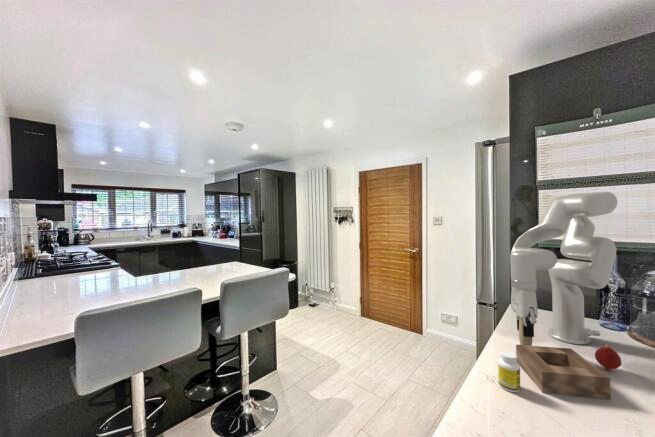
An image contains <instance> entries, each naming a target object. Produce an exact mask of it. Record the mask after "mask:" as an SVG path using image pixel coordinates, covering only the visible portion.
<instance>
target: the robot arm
mask: <svg viewBox="0 0 655 437" xmlns="http://www.w3.org/2000/svg"><path fill="white" fill-rule="evenodd" d="M617 206H618V199H617V197H616V195H615V194H614V193H612V192H610V191H596V192H595V191H594V192H584V193H583V192H580V193H571V194H566V195H562V196H556V197H555V198H553V199H552V200H551V202H549V204H548V206H547V207H546V208H547V209H546V210H545V211H544V212H545V213H544V214H543V216H542V217H541V220H540V221H539V223H538V224H537V225H535V226H534V227H532V228H530V229H528V230H527V231H525V232H524V233H522V234H521V235H520V236H519V237H518V238H517V239H516V240H515V242H514V244H513V246H512V249H511V251H510V255H509V260H510V261H509V262H510V285H511V287H510V288H511V291H510V309H511V310H512V311H513V312H514V308H515V309H516V312H514V313H515V314H516V317H515V318H516V329H517V331H518V332H519V316H520V317H521V318H523V320H524V325H523V336H525V337H532V338H534V337H535V324H537V318H538V314H539V312H538V311H539V310H538V302H537V300H538V299H537V294H536V293H537V292H536V291H538V290H537V289H538V288H537V271H539V270H542V271H547V270H548V275H549V278H550V283H551V295H552V299H551V301H552V304H551V305H552V306H551V307H552V328H549V329H548V330H547V332H548V335H549V336H550V337H551V338H554V339H555V340H558V341H561V342H564V343H568V344H573V345H588V344H591V338H590V336H595V337H597V336H598V337H599V336H601V333H600V331H599V330H593V329H592V330H591V328H586V327H585V297H584V293H583V291H582V290H581V288H580V287H585V288H590V289H597V290H598V289H599V290H600V289H603V288H606V286H607V285H608V283H609V280H610V279H611V278H610V277H611V274H612V270H613V266H614V264H615V263H614V262H615V259H616V255H617V247H616V244H615V242H614V241H613V240H612V239H610V238H608V237H604V236H594V235H595V234H594V233H595V232H596V226H595V224H594V223H593V222H592V220H591V219H589V218H591V217H599V216H604V215H607V214H610V213H611V214H612V212H614V210H615V209H616V208H617ZM561 236H563V239H562V240H561V244H560V253H561V255H562V256H564V257H566V258H570V259H566V258H558V257H557V255H556V253H554V252H553V251H551V250H549V249H544V248H535V247H533V246H535V245H536V244H538V243H540V242H545V241H549V240H552V239H556V238H560V237H561ZM581 260H583V261H581ZM527 316H530V317H527ZM527 319H530V320H528V321H527Z"/></svg>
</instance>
